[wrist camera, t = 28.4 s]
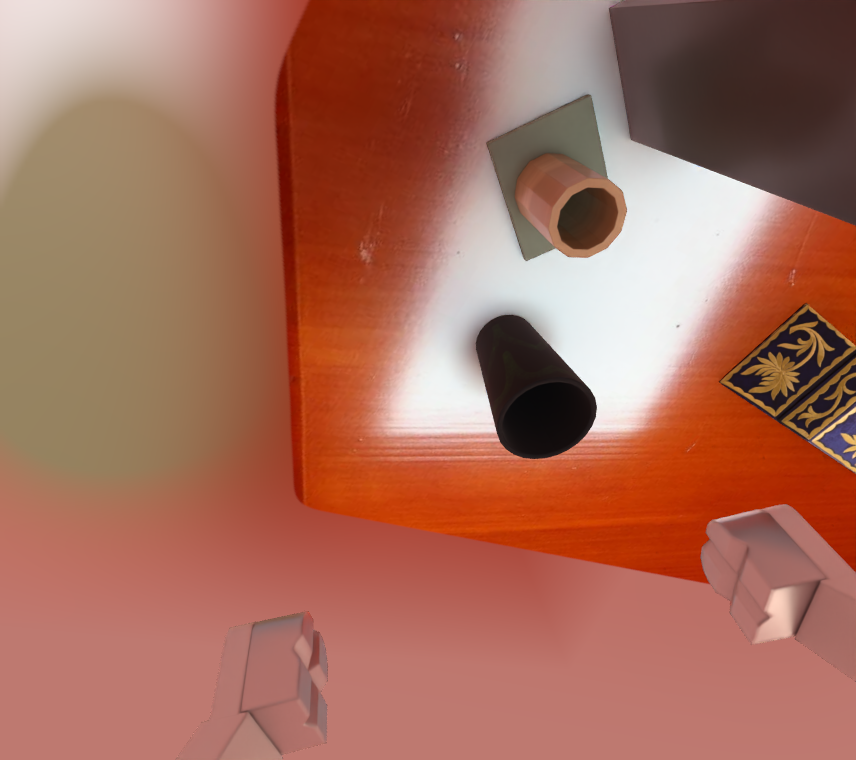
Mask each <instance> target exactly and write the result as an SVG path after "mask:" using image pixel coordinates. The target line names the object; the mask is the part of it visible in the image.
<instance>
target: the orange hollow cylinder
mask: <svg viewBox="0 0 856 760" xmlns="http://www.w3.org/2000/svg"><path fill="white" fill-rule="evenodd" d="M569 198H570V199H569ZM568 199H569V200H568ZM515 200H516V202H517V205H518V208H519V211H520V213H521V214H522V215H523V216H524V217H525V218H526V219H527V220H528V221H529V222H530V223H531V224H532V225H533V226H534V227H535V228H536V229H537V230H538V231H539V232H540V233H541V234H542V235H543V236H544V237H545V238H546V239H547V240H548V241H549V242H550V243H551V244H552V245H553V246H554V247H555V248H556V249H558V250H559V251H561V252H562V253H563V254H565V255H566V256H568V257H583V258H587V257H590V256H592V255H594V254H596V253H598V252H600V251H602V250H604V249H606V248H608V246H609V245H610V244H611V243H612V242H613V240H614V239H615V238H616V237H617V236H618V234H619V233H620V232H621V230H622V227H623V223H624V220H625V216H626V212H627V208H626V204H625V200H624V196H623V192H622V190H621V189H620V188H618V187H617V186H616V185H615V184H614V183H612V182H611V181H610V180H609V179H607V178H605V177H604V176H602V175H600V174H598V173H596V172H595V171H593V170H591V169H589V168H587V167H586V166H584V165H582V164H580V163H579V162H577V161H575V160H573V159H571V158H570V157H568V156H566V155H564V154H554V153H545V154H543V155H541V156H540V157H538V158H536V159H534V160H532V161H530V162H529V163H528V164H527V166H526V167H525V168H524V170H523V171H522V173H521V174H520V175H519V177H518V179H517V184H516V190H515ZM566 202H567V203H566ZM565 203H566V204H565ZM562 207H563V208H562Z"/></svg>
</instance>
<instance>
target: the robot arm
mask: <svg viewBox="0 0 856 760" xmlns="http://www.w3.org/2000/svg"><path fill="white" fill-rule="evenodd" d="M706 534H707V535H708V536H709V538H710V539H709V540H708V541H707V542H706V543H705V544H704V545H703V546H702V552H701V562H702V566H703V570H704V573H705V575H706V577H707V579H708V581H709V583H710V584H711V586H712V587H713V589H714V590H715V592H716V593H717V594H719V595H721V596H723V597H724V598H726V599H728V600H729V601H730V614H731V616H732V617H733V618H734V620H735V622H736V623H737V624H738V626H739V627H740V629H741V631H742V632H743V633H744V635H745V636H746V638H747V639H748V641H749V642H750V644H751V645H754V644H759V643H764V642H769V641H774V640H779V639H784V638H789V637H794V636H796V637H795V640H797V641H798V642H800V643H801V644H803V645H804V646H805V647H807V648H808V649H810V650H811V651H813V652H814V653H815V654H817V655H818V656H820V657H821V658H823V659H824V660H825V661H827V662H828V663H830V664H831V665H833V666H834V667H835V668H837V669H838V670H840V671H841V672H843V673H844V674H845V675H847V676H848V677H850V678H851V679H853V680H854V681H855V682H856V572H855V571H854V570H853V569H852V568H851V567H850V566H849V565H848V564H847V563H846V562H845V561H844V560H843V559H842V558H841V557H840V556H839V555H838V554H837V553H836V552H835V551H834V550H833V549H832V547H831V546H830V545H829V544H828V543H827V542H826V541H825V540H824V539H823V538H822V537H821V536H820V535H819V534H818V533H817V532H816V531H815V530H814V529H813V528H812V527H811V526H810V525H809V524H808V523H807V522H806V520H805V519H804V518H803V517H802V516H801V515H800V514H799V513H798V512H797V511H796V510H795V509H794V508H792V507H791V506H789V505H787V504H783V505H777V506H772V507H768V508H764V509H760V510H753V511H748V512H744V513H740V514H736V515H732V516H728V517H724V518H720V519H715V520H712V521H711V522H709V523H708V524H707V528H706ZM327 668H328V665H327V657H326V649H325V645H324V642H323V639H322V636H321V634H320V633H319V632H317V631H315V630H313V618H312V617H311V615H310V613H309V612H308V611H306V612H301V613H297V614H292V615H287V616H283V617H278V618H274V619H269V620H264V621H260V622H253V623H249V624H244V625H240V626H235V627H231V628H229V631H228V633H227V635H226V637H225V640H224V645H223V651H222V656H221V662H220V667H219V672H218V678H217V683H216V688H215V694H214V699H213V704H212V710H211V715H210V720H208V721H204V722H201V724H200V725H199V727H198V728H197V729H196V731H195V732H194V734H193V735H192V737H191V738H190V740H189V741H188V742H187V744H186V746H185V747H184V748H183V750H182V751H181V752H180V754H179V755H178V757H177V758H176V760H282V759H283V757H282V756H281V755H283V754H287V753H291V752H295V751H299V750H302V749H306V748H310V747H314V746H318V745H321V744H325V743H326V738H327V737H326V736H327V704H326V703H325V700H324V699H323V697H322V695H321V691H322V690H323V688H324V686H325V684H326V683H327V681H328V678H327V677H328V675H327V674H328V673H327V671H328V669H327Z"/></svg>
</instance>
